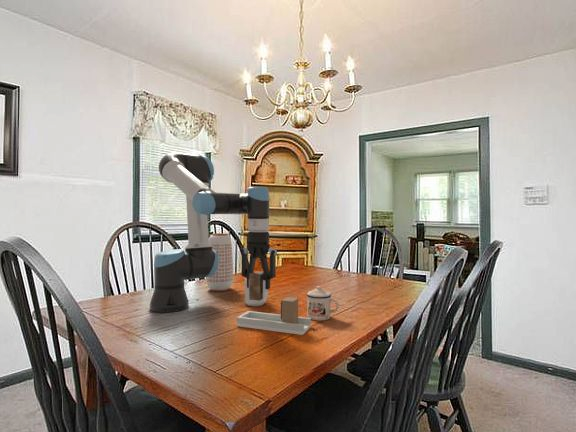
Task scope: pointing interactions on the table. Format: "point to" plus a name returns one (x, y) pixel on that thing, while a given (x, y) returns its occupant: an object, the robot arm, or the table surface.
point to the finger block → (256, 285)
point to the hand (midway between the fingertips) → (258, 297)
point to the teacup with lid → (319, 304)
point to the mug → (252, 302)
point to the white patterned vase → (221, 262)
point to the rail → (277, 319)
